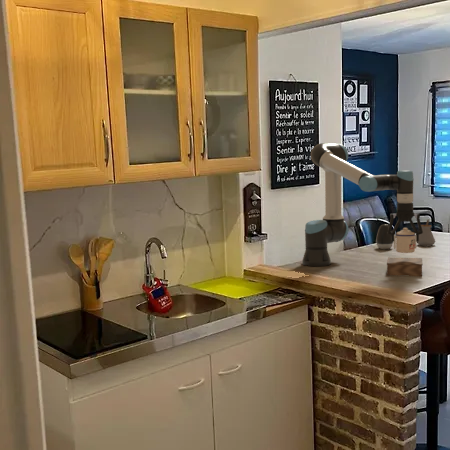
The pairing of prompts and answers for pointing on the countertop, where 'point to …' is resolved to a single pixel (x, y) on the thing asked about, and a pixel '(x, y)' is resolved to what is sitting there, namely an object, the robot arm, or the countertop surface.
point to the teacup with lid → (405, 241)
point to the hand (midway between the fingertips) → (404, 248)
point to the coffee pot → (426, 236)
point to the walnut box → (404, 266)
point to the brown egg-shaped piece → (384, 237)
